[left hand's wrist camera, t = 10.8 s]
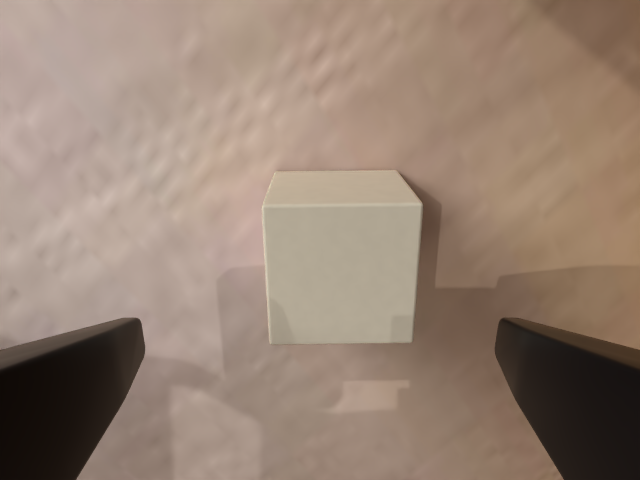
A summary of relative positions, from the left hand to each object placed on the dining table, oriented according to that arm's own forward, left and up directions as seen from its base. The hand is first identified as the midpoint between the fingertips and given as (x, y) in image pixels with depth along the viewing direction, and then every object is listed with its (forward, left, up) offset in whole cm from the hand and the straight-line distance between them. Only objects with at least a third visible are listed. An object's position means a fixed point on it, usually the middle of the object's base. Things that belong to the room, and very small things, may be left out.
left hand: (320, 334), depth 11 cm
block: (-1, 0, -6) cm, 6 cm away
